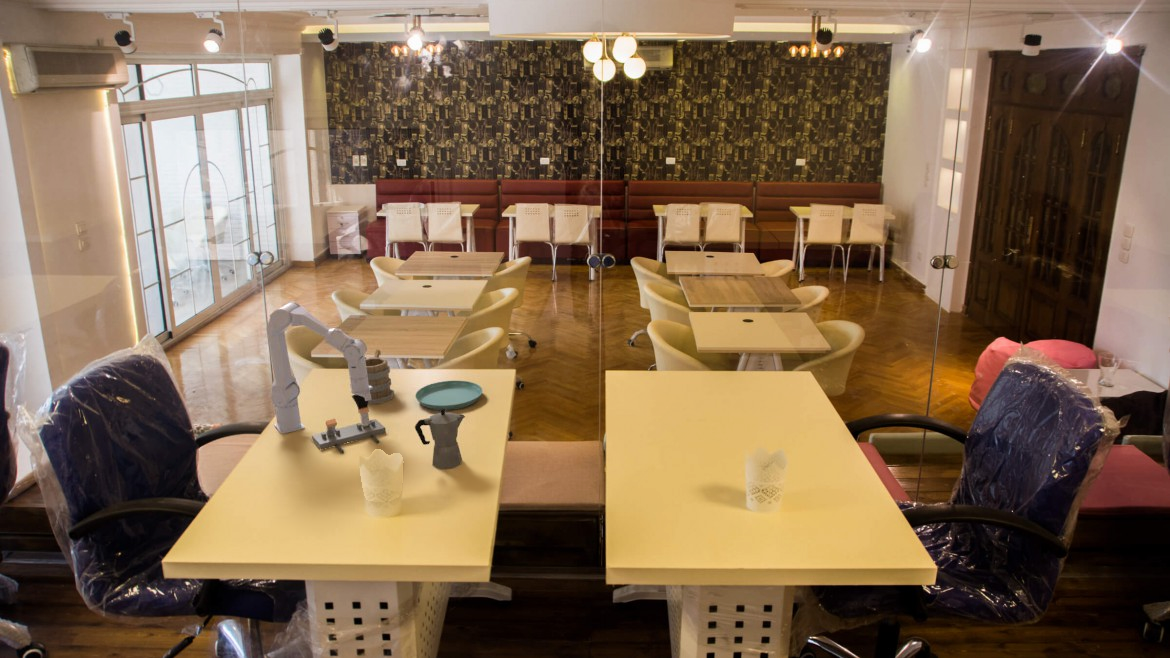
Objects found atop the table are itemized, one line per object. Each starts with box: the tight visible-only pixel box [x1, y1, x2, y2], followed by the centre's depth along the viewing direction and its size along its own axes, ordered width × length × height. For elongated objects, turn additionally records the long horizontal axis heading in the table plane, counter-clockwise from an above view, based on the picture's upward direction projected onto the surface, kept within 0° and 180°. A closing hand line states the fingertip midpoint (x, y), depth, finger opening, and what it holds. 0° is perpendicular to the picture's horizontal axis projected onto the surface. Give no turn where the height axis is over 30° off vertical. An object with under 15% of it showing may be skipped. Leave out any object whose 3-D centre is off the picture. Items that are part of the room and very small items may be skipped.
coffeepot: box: [414, 409, 466, 470], centre depth 274 cm, size 15×9×18 cm, turn 110°
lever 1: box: [325, 418, 338, 437], centre depth 293 cm, size 2×3×6 cm, turn 125°
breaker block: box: [311, 419, 387, 454], centre depth 295 cm, size 16×22×4 cm
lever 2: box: [357, 407, 370, 428], centre depth 300 cm, size 2×3×6 cm, turn 122°
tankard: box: [365, 349, 395, 405], centre depth 333 cm, size 20×13×15 cm, turn 179°
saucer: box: [414, 380, 483, 411], centre depth 327 cm, size 24×24×3 cm
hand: (363, 414), depth 301 cm, fingers closed, pressing on lever 2
